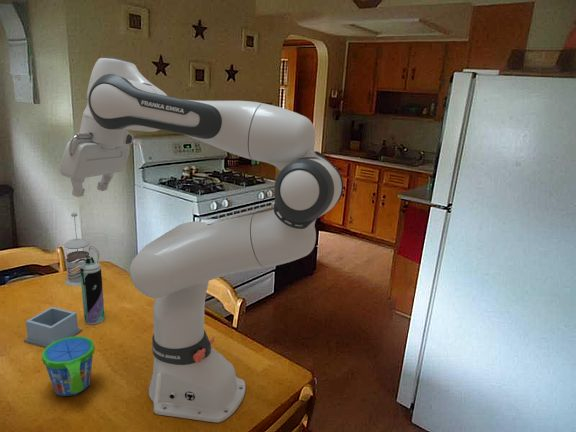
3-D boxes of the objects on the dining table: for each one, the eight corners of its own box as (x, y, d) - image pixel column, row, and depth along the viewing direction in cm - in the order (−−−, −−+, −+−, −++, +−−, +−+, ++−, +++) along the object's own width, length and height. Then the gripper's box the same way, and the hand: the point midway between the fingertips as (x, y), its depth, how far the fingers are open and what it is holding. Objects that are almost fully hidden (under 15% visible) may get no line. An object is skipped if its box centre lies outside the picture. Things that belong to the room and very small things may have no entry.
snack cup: (46, 372, 101) (41, 336, 98) (94, 361, 106) (90, 326, 103) (46, 416, 88) (41, 375, 85) (101, 401, 93) (97, 362, 90)
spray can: (97, 326, 122) (92, 262, 116) (80, 323, 122) (74, 260, 117) (108, 316, 127) (104, 255, 121) (92, 314, 128) (87, 253, 122)
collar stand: (82, 330, 119) (80, 312, 117) (53, 350, 110) (51, 330, 108) (54, 323, 122) (52, 305, 120) (23, 341, 112) (21, 322, 111)
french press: (67, 275, 152) (60, 209, 145) (102, 272, 156) (97, 208, 148) (62, 287, 143) (54, 217, 136) (99, 284, 147) (93, 216, 140)
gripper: (88, 138, 81) (74, 204, 84) (137, 137, 101) (125, 191, 104) (58, 128, 81) (46, 195, 84) (113, 129, 101) (101, 183, 104)
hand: (90, 192), depth 94 cm, fingers open, 8 cm apart
